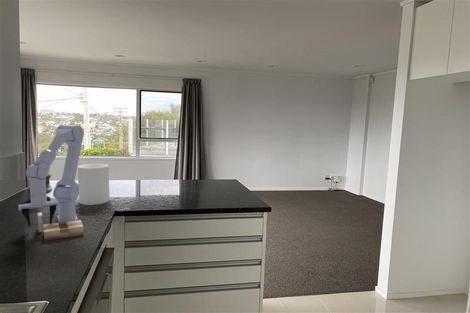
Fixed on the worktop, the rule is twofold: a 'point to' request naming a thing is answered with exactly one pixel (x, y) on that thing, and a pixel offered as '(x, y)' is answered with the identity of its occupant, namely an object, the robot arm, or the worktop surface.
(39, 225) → the silver rectangular block
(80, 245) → the worktop surface
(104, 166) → the canister
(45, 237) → the slotted tan block
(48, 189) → the apothecary jar
